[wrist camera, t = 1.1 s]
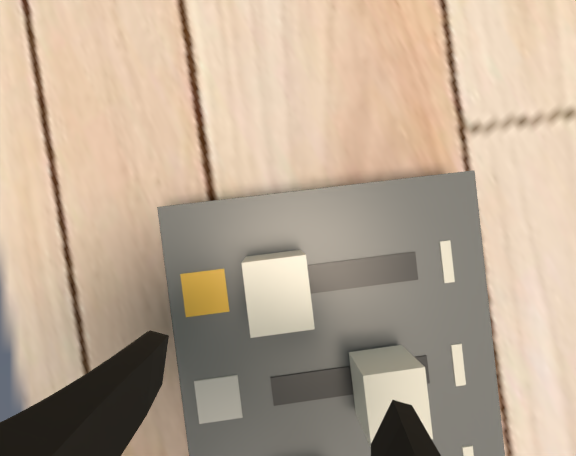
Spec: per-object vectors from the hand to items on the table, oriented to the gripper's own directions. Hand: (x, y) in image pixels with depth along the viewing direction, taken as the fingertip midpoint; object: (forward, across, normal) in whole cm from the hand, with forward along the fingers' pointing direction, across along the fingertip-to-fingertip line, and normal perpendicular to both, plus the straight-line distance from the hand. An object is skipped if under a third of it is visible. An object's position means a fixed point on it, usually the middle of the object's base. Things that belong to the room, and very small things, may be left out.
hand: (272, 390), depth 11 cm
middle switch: (+8, -6, +5) cm, 11 cm away
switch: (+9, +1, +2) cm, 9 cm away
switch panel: (+10, -4, +7) cm, 13 cm away
